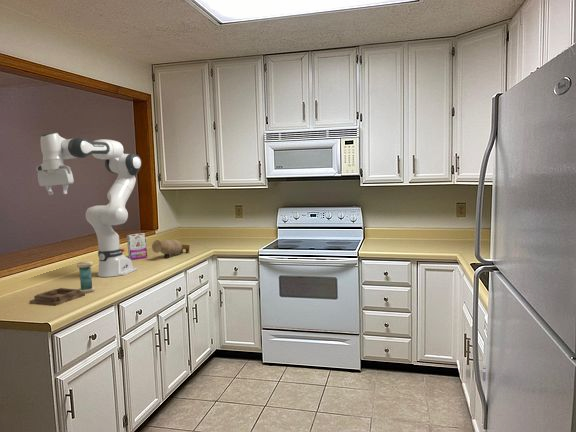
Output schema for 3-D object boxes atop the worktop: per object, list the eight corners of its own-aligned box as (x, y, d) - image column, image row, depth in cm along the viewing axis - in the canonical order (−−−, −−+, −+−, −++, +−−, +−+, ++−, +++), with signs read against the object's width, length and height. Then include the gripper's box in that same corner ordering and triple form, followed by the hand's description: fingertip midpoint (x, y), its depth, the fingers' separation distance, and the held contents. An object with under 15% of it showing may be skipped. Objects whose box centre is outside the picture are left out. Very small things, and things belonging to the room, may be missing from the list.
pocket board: (59, 293, 217) (59, 287, 216) (84, 295, 210) (84, 289, 210) (29, 302, 202) (29, 296, 202) (55, 305, 196) (55, 298, 195)
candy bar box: (145, 256, 306) (143, 232, 304) (147, 257, 302) (145, 233, 300) (128, 259, 299) (126, 234, 298) (130, 260, 295) (128, 235, 294)
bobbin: (87, 289, 222) (84, 261, 221) (98, 290, 220) (95, 261, 218) (75, 293, 216) (73, 264, 215) (86, 293, 213) (84, 264, 212)
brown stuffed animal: (178, 257, 317) (150, 257, 290) (179, 240, 318) (151, 238, 291) (190, 258, 313) (162, 258, 286) (191, 240, 314) (163, 239, 287)
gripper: (74, 164, 218) (78, 192, 220) (45, 167, 227) (49, 194, 228) (63, 164, 213) (67, 193, 214) (33, 168, 221) (38, 196, 222)
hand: (58, 194), depth 221 cm, fingers open, 8 cm apart
